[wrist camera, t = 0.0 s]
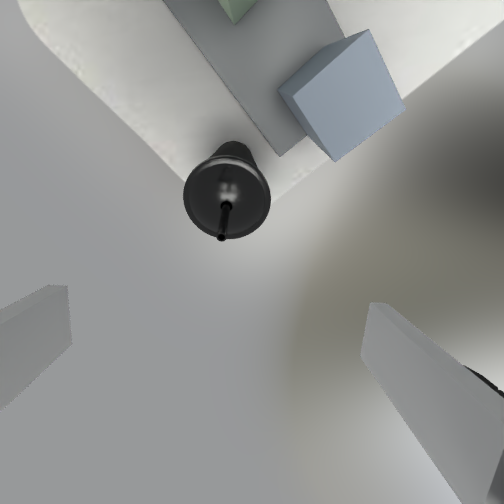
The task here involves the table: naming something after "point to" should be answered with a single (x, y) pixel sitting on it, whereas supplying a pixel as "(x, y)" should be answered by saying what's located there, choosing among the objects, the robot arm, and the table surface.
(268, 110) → the grey flat board
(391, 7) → the table surface
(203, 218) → the drinking cup
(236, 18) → the pale green block
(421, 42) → the table surface
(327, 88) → the blue-grey tall block
